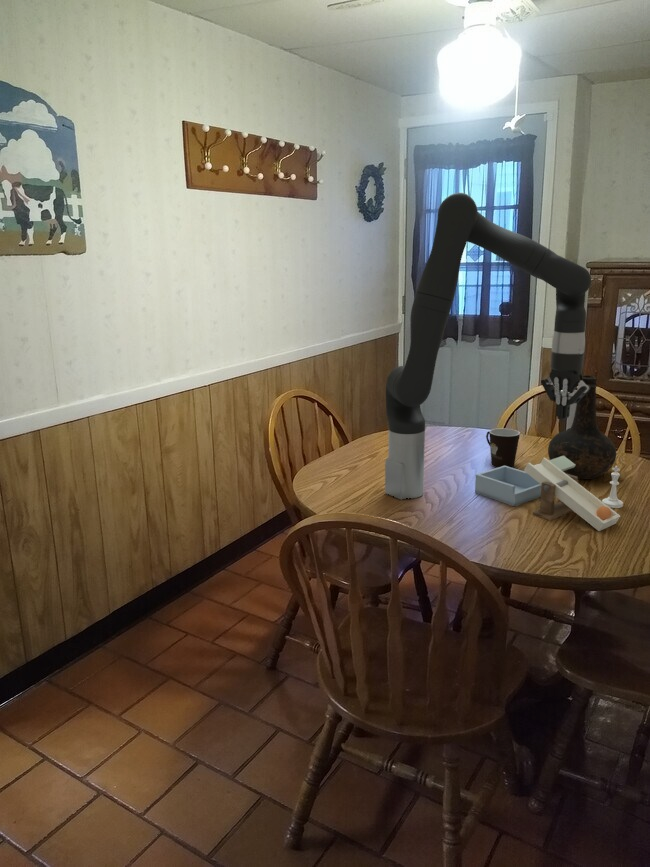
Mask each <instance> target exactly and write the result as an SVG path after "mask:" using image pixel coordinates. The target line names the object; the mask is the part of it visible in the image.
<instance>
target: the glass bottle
mask: <svg viewBox="0 0 650 867" xmlns="http://www.w3.org/2000/svg"><path fill="white" fill-rule="evenodd" d="M582 376H583V380H582V381H583V382H584V383H585V384H586V385H590V387H591V388H590V390H589V391H588V392H587V393H586V394H585V395H584V396H583V397H582V398H581V399H580V401H579V402H578V403H576V405H575V406H576V407H575V411H574V417H573V420H572V423H571V427H570V428H567V429H566V430H563V431H561V432H558V433H556V435H554V436H553V437H552V438H551V439H550V442H549V444H548V448H547V453H548V457H549V460H552V459H555V458H558V457H561V456H565V457H566V458H567V459H569V460H570V461H571V462H573V463H574V464H575V467H574V468H571V469H568V470H565V471H563V472H564V473H566V474H570V475H574V476H577V477H578V480H579V479H580V480H588V479H589V480H590V479H596V478H598V477H599V478H600V477H601V476H603V475H605V474H607V472H609V471H610V470H611V469H612V468H613V466H614V464H615V462H616V458H617V449H616V448H617V447H616V445H615V444H614V442H613V441H612V439H611V438H609V437H608V436H607V435H606V434H604V433H602V432H601V430H600V429H599V425H598V421H597V419H598V418H597V411H596V408H597V403H596V402H597V395H596V393H597V387H599V385H598V383H597V380H598V378H597V376H594V375H589V374H587V375H586V374H585V375H583V374H582Z"/></svg>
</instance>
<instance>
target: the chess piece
mask: <svg viewBox="0 0 650 867" xmlns="http://www.w3.org/2000/svg"><path fill="white" fill-rule="evenodd" d="M611 470H612V471H614V472H611V473H610V476H611V481H609V484H610V485H611V489H610V492H609V493H610V494H609V496H607V497H606V498H603V499H602V500H601V501H602V502H603V503H604V504H606V505H607V506H608V507H610V508H611V509H612V508H613V509H619V508H620V509H621V508H623V507H624V502H623V501H622V500H620V499H619V498H618V496H617V486H619V485H620V482H619V481H618V480H619V478H620V476H621V474H620V473H619V472H620V471H621V469H620V468H618V465H615V466H614V467H611Z"/></svg>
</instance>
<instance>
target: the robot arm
mask: <svg viewBox="0 0 650 867" xmlns="http://www.w3.org/2000/svg"><path fill="white" fill-rule="evenodd" d="M437 210H438V211H437V221H436V226H435V227H436V228H435V233H434V239H433V242H432V247H431V250H430V253H429V256H428V259H427V261H426V263H425V266H424V268H423V271H422V273H421V277H420V279H419V281H418V284H417V287H416V288H417V289H416V291H415V295H414V299H413V302H412V305H411V311H410V318H409V319H410V322H409V323H410V328H409V329H410V345H409V351H408V354H407V358H406V361H405V364H404V365H399V366H396V367H395V368H393V369H392V370H391V371H390V372H389V374H388V376H387V379H386V383H385V409H386V410H385V412H386V413H385V414H386V419H387V422H388V450H387V451H388V453H387V455H388V457H387V458H385V460H384V462H385V464H384V465H385V467H384V469H385V470H384V471H385V473H384V493H385V494H386V495H388V494H389V495H388V496H391V497H393V496H394V498H396V499H398V500H406V498H408V499H409V498H411V499H416V498H420V497H421V496H423V495H424V487H425V486H424V484H425V483H424V481H425V479H424V478H425V448H426V447H425V442H426V440H425V439H426V438H425V437H426V419H425V417H424V415H423V413H422V408H421V405H422V404H424V403H425V402H426V401H427V399H428V398H429V396H430V393H431V391H432V386H433V379H434V374H435V370H436V362H437V357H438V354H439V350H440V347H441V343H442V340H443V336H444V333H445V330H446V327H447V322H448V320H449V317H450V314H451V310H452V306H453V302H454V299H455V296H456V290H457V285H458V280H459V274H460V269H461V268H460V267H461V262H462V258H463V254H464V251H465V249H466V245H467V243H470V244H473V245H475V246H478V247H479V248H482V249H484V250H486V251H489V252H490V253H492V254H493V255H495V256H497V257H499V258H501V259H502V260H504V261H505V262H507V263H509V264H510V265H512V266H514V267H515V268H518V269H519V270H521V271H523V272H524V273H527V274H528V275H530V276H532V277H534V278H536V279H539V280H542V281H544V282H545V283H546V284H548V285H550V286H551V287H553V288H555V306H556V308H555V315H554V316H555V317H554V328H553V334H552V335H553V336H552V340H551V342H552V343H551V353H550V354H551V355H550V369H551V370H550V371H549V374H548V376H547V377H546V378H544V379H541V380H540V384H541V386H542V388H543V389H544V391H545V393H546V394H547V396H548V398H549V400H550V401H551V402H552V401H553V402H555V405H556V409H555V410H556V411H555V412H556V413H555V415H556V418H557V420H562V421H564V420H567V419H568V418H569V417H570V411H571V405H574V404H577V403H578V402H579V401H580V399H581V398H582V397H583V396H584V395H585V394H586V393H587V392H588V391H589V390H590V388H591V387H590V385H586V384H585V383H584V382H583V381H582V380H583V376H582V375H583V374H582V371H583V369H584V359H585V349H586V326H587V325H586V322H587V312H586V308H585V302H586V292H588V291H589V289H590V287H591V285H592V276H591V274H590V271H588V270H587V269H586V268H585V267H584V266H581V265H580V264H577V263H575V262H573V261H571V260H570V259H567V258H565V257H563V256H561V255H558V254H557V253H555V252H554V251H552V250H551V249H549V248H547V247H546V246H545V245H543V244H541V243H539V242H537V241H536V240H533V239H531V238H529V237H527V236H525V235H523V234H521V233H517V232H515V231H512V230H511V229H510V230H509V229H507V228H505V227H502V226H500V225H498V224H497V223H494V222H493V221H492V220H490V219H488V218H487V217H485V216H484V215H482V213H480V212H479V211H478V207H477V204H476V202H475V200H474V199H473V197H471V196H470V195H468V194H467V193H466V192H456V193H455V192H454V193H452V194H450V195H449V196H447V197H446V198H444V200H442V202H441V203H440V205H439V208H438V209H437ZM575 391H576V392H575Z"/></svg>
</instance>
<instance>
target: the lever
mask: <svg viewBox="0 0 650 867" xmlns="http://www.w3.org/2000/svg"><path fill="white" fill-rule="evenodd" d="M574 467H575V464H574V463H573V462H571V461H570V460H569V459H567V458H566V457H565V456H561V457H558V458H555V459H552V460H550V459H547V458H546V457H543V458H542V459H541V462H540V463H537V464H534V465H533V464H532V463H531V462H528V463H527V464H526V466H525V468H524V469H523V471H524V472H526V473H527V474H529V475H530V476H531V477H532V478H534V479H535V480H536V481H537V482H539V483H540V484H541V485H542V482H548V483H551V484H555V485H556V488H555V498H557V499H558V500H560V501H562V502H563V503H564V504H566V505H567V506H568V507H569V508H571V509H572V510H573V511H572V512H574V513H575V514H577V515H578V516H579V517H581V518H582V519H583V520H585V522H587V523H588V524H590V526H592V527H593V528H594V529H595V530H596V531H598V532H601V531H602V530H605V529H608V528H609V527H612V526H613V525H616V524H617V522H618V520H619V519H620V518H621V515H620V514H619V513H618V512H616V511H615V510H614V509H612V508H610V507H608V506H607V505H606V504H604V503H603V502H602V500H601V499H599V498H598V497H597V496H596V495H594V494H593V493H591V491H589V490H588V489H586V488H585V487H584V486H582V485H581V484H580V483H579V482H576V481H575V480H573V479H572V478H571V477H570V476H568V475H567V474H566V473H564V472H563V471H565V470H568V469H571V468H574ZM601 506H606V507H608V508H609V509H610V510H611V513H612V515H611V517H610V518H608V519H606V520H601V519H600V518H599V517H598V516H597V514H596V512H597V509H598V508H599V507H601Z"/></svg>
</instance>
